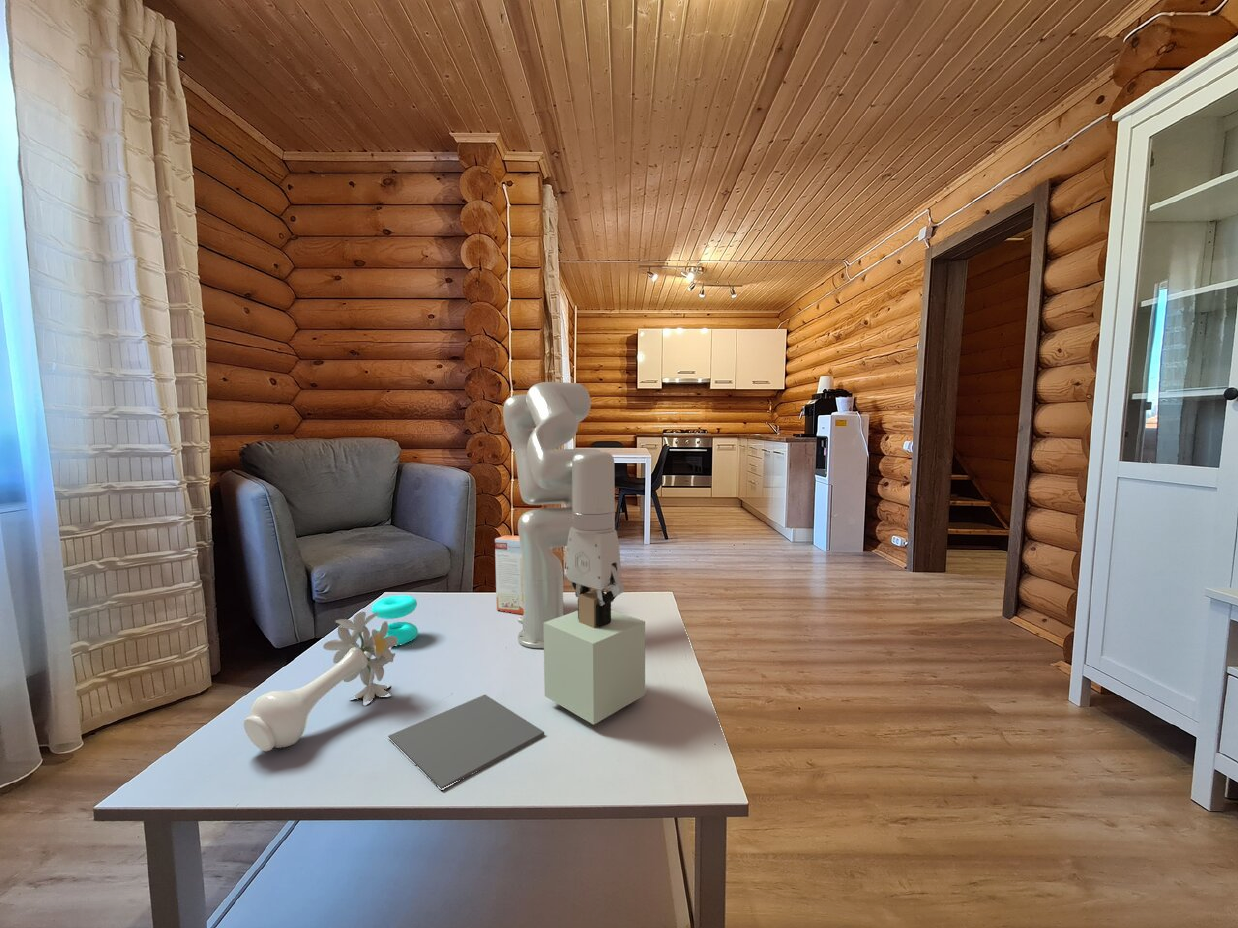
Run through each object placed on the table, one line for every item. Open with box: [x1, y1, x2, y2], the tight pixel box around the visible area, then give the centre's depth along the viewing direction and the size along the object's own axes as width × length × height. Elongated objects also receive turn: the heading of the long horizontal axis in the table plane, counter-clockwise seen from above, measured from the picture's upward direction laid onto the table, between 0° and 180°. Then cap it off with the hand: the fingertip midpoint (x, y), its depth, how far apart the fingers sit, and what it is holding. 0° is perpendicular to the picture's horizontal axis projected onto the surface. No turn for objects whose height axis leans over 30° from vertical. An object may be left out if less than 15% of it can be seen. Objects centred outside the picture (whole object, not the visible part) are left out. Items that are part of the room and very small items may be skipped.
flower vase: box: [243, 611, 398, 752], centre depth 90 cm, size 13×18×25 cm
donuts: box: [371, 594, 419, 645], centre depth 124 cm, size 10×10×10 cm
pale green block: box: [543, 589, 646, 726], centre depth 93 cm, size 13×13×19 cm
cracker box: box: [494, 535, 524, 616], centre depth 143 cm, size 14×6×21 cm, turn 65°
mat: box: [387, 694, 545, 789], centre depth 84 cm, size 18×18×1 cm
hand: (594, 620), depth 92 cm, fingers closed on pale green block, 4 cm apart
